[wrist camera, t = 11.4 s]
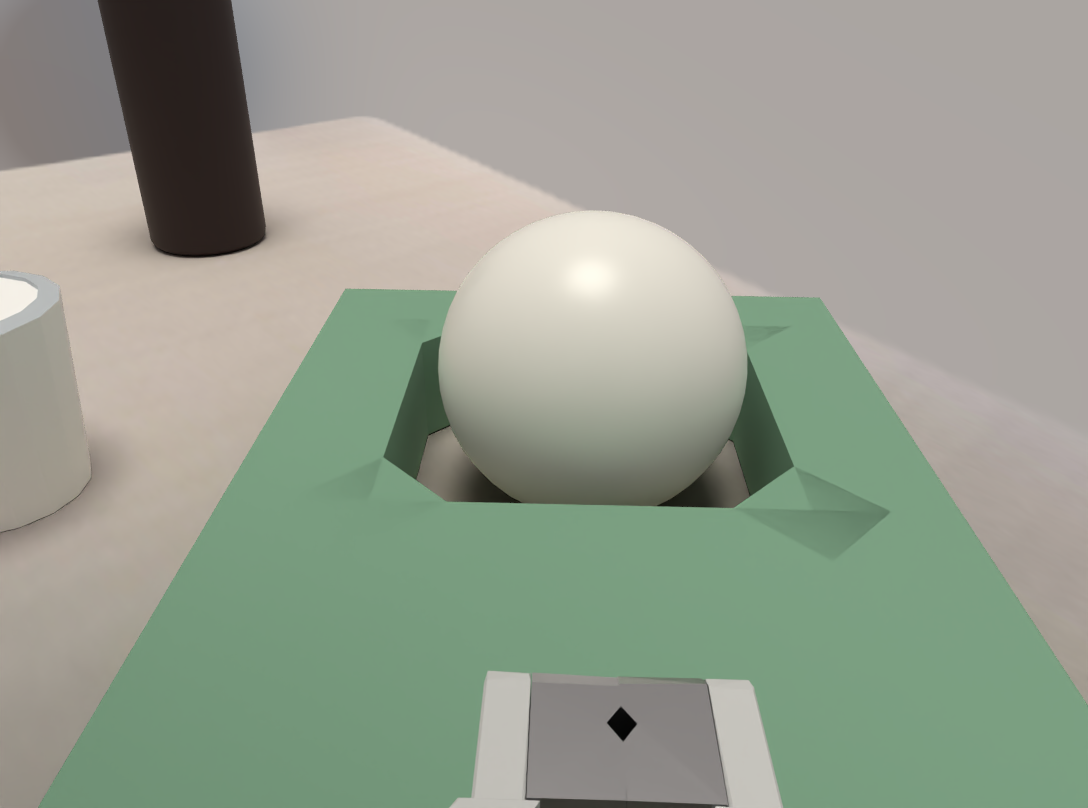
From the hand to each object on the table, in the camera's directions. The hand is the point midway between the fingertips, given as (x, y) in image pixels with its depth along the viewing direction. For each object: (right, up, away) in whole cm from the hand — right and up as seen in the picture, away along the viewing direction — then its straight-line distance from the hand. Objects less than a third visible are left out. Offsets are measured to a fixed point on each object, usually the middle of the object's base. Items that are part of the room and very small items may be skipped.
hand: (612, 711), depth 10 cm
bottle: (-22, +14, +44) cm, 51 cm away
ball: (+1, +5, +18) cm, 19 cm away
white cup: (-20, 0, +21) cm, 29 cm away
